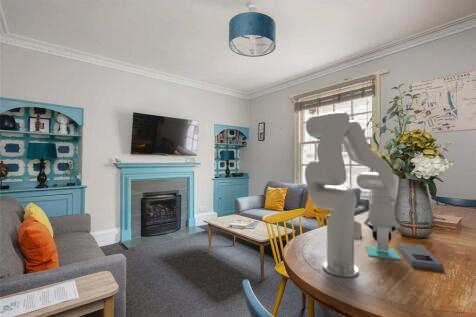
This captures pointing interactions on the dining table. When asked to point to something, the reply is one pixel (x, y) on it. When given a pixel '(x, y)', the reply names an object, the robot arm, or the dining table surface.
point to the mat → (382, 253)
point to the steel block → (382, 238)
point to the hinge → (357, 230)
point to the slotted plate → (419, 257)
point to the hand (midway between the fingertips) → (381, 240)
